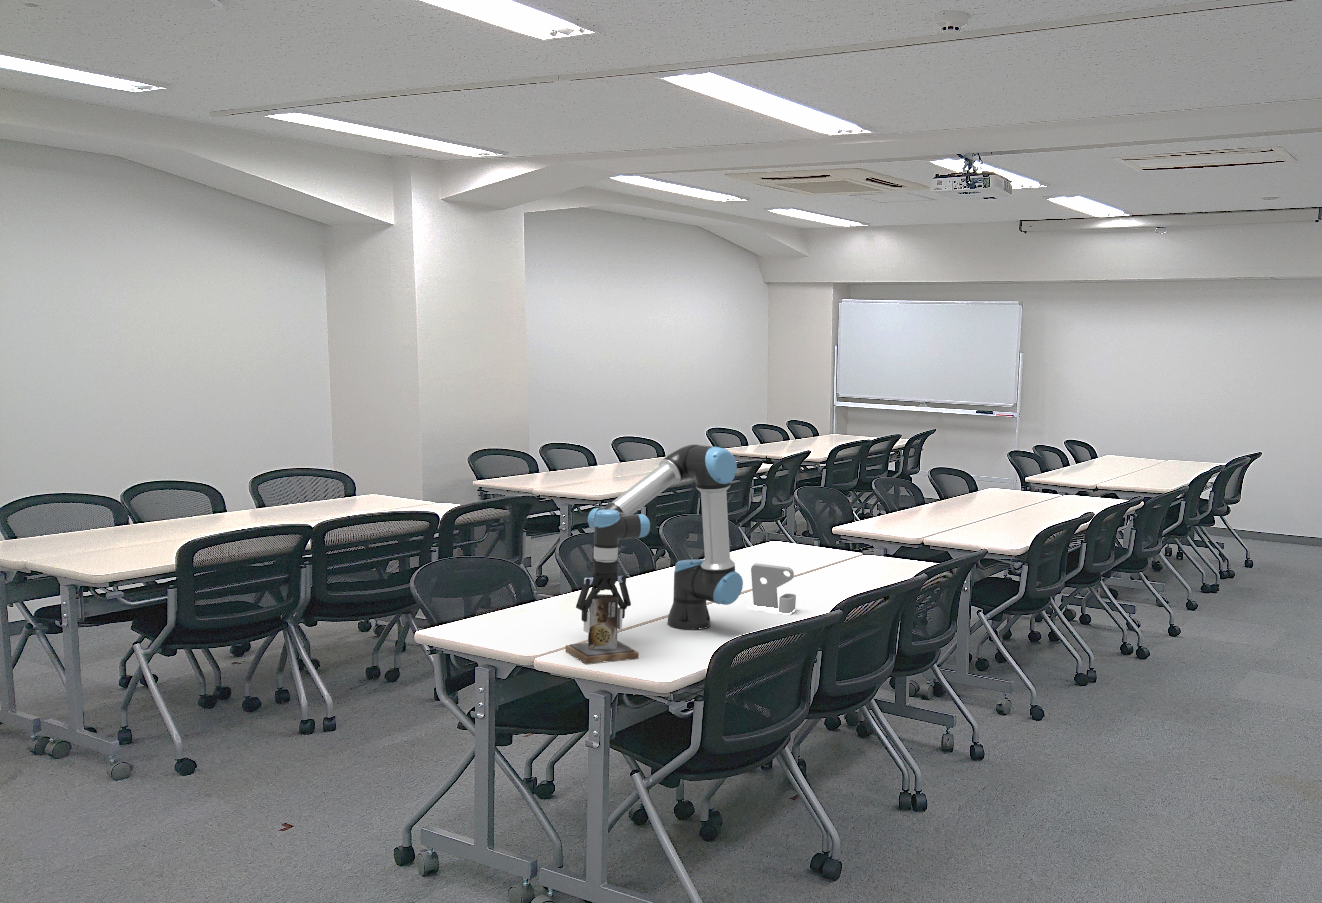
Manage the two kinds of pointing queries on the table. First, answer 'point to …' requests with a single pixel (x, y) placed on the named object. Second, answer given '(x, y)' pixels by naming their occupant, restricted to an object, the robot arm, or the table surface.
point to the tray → (601, 653)
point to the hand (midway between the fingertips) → (602, 630)
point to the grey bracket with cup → (771, 587)
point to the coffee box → (603, 622)
